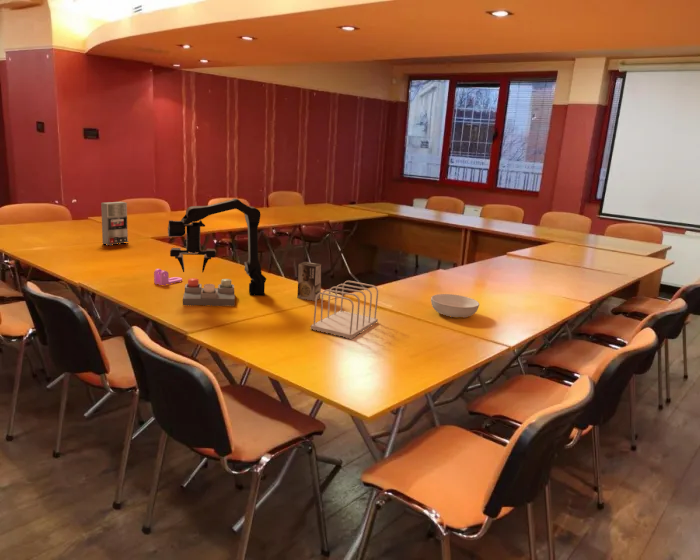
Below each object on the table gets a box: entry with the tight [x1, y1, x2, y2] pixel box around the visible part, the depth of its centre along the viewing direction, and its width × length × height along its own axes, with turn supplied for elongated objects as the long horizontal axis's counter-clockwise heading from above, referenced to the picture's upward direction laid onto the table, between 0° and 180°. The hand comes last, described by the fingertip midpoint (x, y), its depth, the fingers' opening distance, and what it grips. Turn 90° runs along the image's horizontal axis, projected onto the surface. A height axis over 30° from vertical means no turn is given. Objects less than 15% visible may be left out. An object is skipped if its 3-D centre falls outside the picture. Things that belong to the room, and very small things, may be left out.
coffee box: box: [297, 261, 323, 302], centre depth 255 cm, size 9×6×16 cm
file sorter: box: [310, 280, 379, 339], centre depth 220 cm, size 25×17×16 cm
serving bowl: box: [430, 293, 480, 318], centre depth 247 cm, size 21×21×7 cm
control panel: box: [182, 283, 236, 307], centre depth 242 cm, size 21×17×5 cm
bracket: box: [153, 268, 183, 286], centre depth 265 cm, size 13×6×7 cm, turn 146°
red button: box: [187, 277, 200, 287], centre depth 244 cm, size 4×4×3 cm
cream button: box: [203, 283, 216, 293], centre depth 237 cm, size 4×4×3 cm
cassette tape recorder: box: [100, 201, 129, 246], centre depth 337 cm, size 14×6×25 cm, turn 147°
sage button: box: [220, 278, 232, 288], centre depth 247 cm, size 4×4×3 cm
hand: (193, 272), depth 243 cm, fingers open, 8 cm apart
